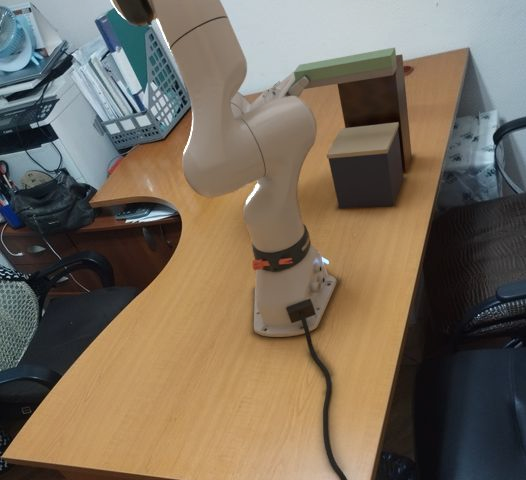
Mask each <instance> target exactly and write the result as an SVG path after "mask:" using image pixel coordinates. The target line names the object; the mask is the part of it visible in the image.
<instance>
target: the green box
mask: <svg viewBox="0 0 526 480" xmlns="http://www.w3.org/2000/svg"><path fill="white" fill-rule="evenodd" d="M396 55H397V54H396V47H389V48H384V49H377V50H373V51H367V52H362V53H357V54H351V55H345V56H340V57H334V58H329V59H324V60H318V61H313V62H308V63H302V64H298V66H297V67H296V68H295V70H294V71H293V72H294V76H295V80H296V83H297V82H298V81H299V80H300V79H301V78H302V77H303V76H304V75H307V76H308V78H309V79H310V82H309V83H308V85H307V86H306V87H305V88H304V90H308V89H314V88H319V87H320V88H321V87H326V86H332V85H337V84H340V83H346V82H352V81H359V80H365V79H371V78H378V77H384V76H390V75H393V74H394V72H395V70H396V68H397V62H396Z"/></svg>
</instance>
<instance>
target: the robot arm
mask: <svg viewBox="0 0 526 480" xmlns="http://www.w3.org/2000/svg"><path fill="white" fill-rule="evenodd" d="M110 2H111V4H112V6H113V7H114V9H115V10H116V11H117V13H118V14H119V15H120V16H121V17H122V18H123V19H124V20H126V22H127V23H128V24H129V25H131V26H135V27H145V26H152V23H153V21H155V20H156V23H157V26H158V27H159V30H160V31H161V34H162V36H163V39H164V41H165V43H166V45H167V47H168V50H169V51H170V54H171V56H172V58H173V60H174V63H175V65H176V66H177V69H178V72H179V73H178V74H179V75H180V77H181V79H182V82H183V85H184V88H185V91H186V94H187V96H188V99H189V102H190V107H191V128H190V133H189V137H188V140H187V143H186V145H185V148H184V149H183V153H182V158H181V167H182V173H183V176H184V179H185V181H186V183H187V184H188V186H189V187H190V188H191V189H192V190H193V192H195V194H197V195H199V196H200V197H202V198H205V199H208V200H211V199H215V198H219V197H222V196H227V195H229V194H232V193H233V194H234V193H235V192H237V191H238V190H240V189H242V188H244V187H246V186H248V185H251V184H252V183H254V182H255V185H254V187H253V188H252V190H251V192H250V193H249V194H248V196H247V198H246V199H245V201H244V203H243V209H242V216H243V221H244V224H245V226H246V229H247V231H248V234H249V237H250V240H251V249H252V255H253V257H254V260H252V262H251V267H252V269H253V271H255V287H254V304H253V305H254V307H253V308H254V309H253V330H254V333H256V334H257V335H260V336H263V337H269V338H286V337H295V336H301V335H303V334H304V335H305V338H306V343H307V347H308V350H309V353H310V355H311V357H312V359H313V361H314V362H315V363H316V364H317V366H318V367H319V368H320V369H321V371H322V372H323V375H324V377H325V382H326V383H325V384H326V391H325V396H324V402H323V406H322V407H323V409H322V431H323V432H322V437H323V444H324V449H325V452H326V457H327V459H328V462H329V464H330V466H331V468H332V469H333V470H334V473H336V475H337V476H338V478H339V479H340V480H348V478H347V476H346V475H345V473H344V472H343V470H342V469H341V467H340V466H339V465H338V463H337V462H336V459H335V457H334V454H333V451H332V448H331V443H330V435H329V433H330V432H329V405H330V400H331V395H332V378H331V376H330V375H331V374H330V372H329V370H328V369H327V367H326V366H325V364H324V363H323V362H322V361H321V359H320V358H319V356H318V355H317V353H316V350H315V349H314V345H313V342H312V341H313V340H312V337H311V332H312V331H314V330H316V329H317V328H318V326H319V324H320V322H321V320H322V318H323V316H324V313H325V311H326V308H327V306H328V304H329V302H330V300H331V297H332V295H333V292H334V291H335V289H336V286H337V283H338V282H337V279H336V277H334V276H332V275H330V274H328V270H327V267H326V265H329V264H330V262H329V260H328V259H326V258H324V257H323V255H322V253H321V251H319V250H318V249H317V248H315V246H313V245H312V243H311V236H310V232H309V230H308V227H307V226H306V225H305V223H304V221H303V216H302V212H301V209H300V204H299V197H298V189H299V188H298V186H299V180H300V175H301V172H302V168H303V165H304V164H305V163H304V162H305V160H306V158H307V157H308V154H309V153H310V151H311V149H312V148H313V146H314V145H315V142H316V140H317V139H316V138H317V131H318V128H317V121H316V117H315V114H314V112H313V110H312V109H311V107H310V106H309V105H308V103H306V102H305V101H304V100H303V99H302V98H300V96H301V95H302V93H303V92H304V91H305V89H304V88H305V87H306V86H307V85H308V83H309V82H310V79H309V78H308V76H307V75H304V76H303V77H302V78H301V79H300V80H299V81H298V82H297V83H296V80H295V76H294V71H292V72H291V73H290V74H289V75H288V76H286V77H285V78H284V79H283V80H281V81H280V80H278V81H277V82H276V83H275V84H274V85H273V86H272V87H270V88H268V89H265V90H264V91H263V92H262V93H261V94H260V95H259V96H258V97H257V98H256V99H255V100H254V101H253V102H252V103H251V102H250V100H248V98H246V96H244V95H243V94H242V93H240V92H239V91H240V89H241V87H242V85H243V84H244V82H245V80H246V77H247V74H248V62H247V58H246V56H245V54H244V52H243V49H242V47H241V44H240V42H239V39H238V38H237V34H236V32H235V30H234V28H233V26H232V24H231V21H230V18H229V16H228V14H227V12H226V10H225V7H224V5H223V3H222V1H221V0H110Z"/></svg>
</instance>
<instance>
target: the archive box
mask: <svg viewBox="0 0 526 480" xmlns="http://www.w3.org/2000/svg"><path fill="white" fill-rule="evenodd" d="M398 127H399V123H398V122H395V123H387V124H378V125H369V126H360V127H351V128H345V127H344V128H340V129H339V131H338V133H337V134H336V136H335V138H334V140H333V142H332V143H331V145H330V147H329V149H328V151H327V153H326V159H328V163H329V168H330V173H331V177H332V183H333V188H334V192H335V196H336V201H337V205H338V209H354V208H355V209H356V208H377V207H379V208H380V207H394V206H395V203H396V201H397V198H398V195H399V192H400V189H401V187H402V185H403V181H404V173H403V170H402V161H401V151H400V142H399V133H398Z"/></svg>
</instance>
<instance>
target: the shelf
mask: <svg viewBox="0 0 526 480" xmlns="http://www.w3.org/2000/svg"><path fill="white" fill-rule="evenodd" d="M396 62H397V68H396V70H395V72H394V74H393V75H390V76H384V77H378V78H371V79H365V80H359V81H352V82H346V83H340V84H336V85H337V90H338V95H339V100H340V107H341V111H342V117H343V118H342V119H343V123H344V128H351V127H360V126H369V125H378V124H387V123H395V122H398V123H399V127H398V133H399V142H400V151H401V161H402V170H403V174H405V173H407V171H408V167H409V165H410V162H411V161H412V156H413V155H412V144H411V143H412V142H411V133H410V122H409V121H410V120H409V112H408V111H409V110H408V101H407V89H406V80H405V69H404V58H403V53H402V54H396Z"/></svg>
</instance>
